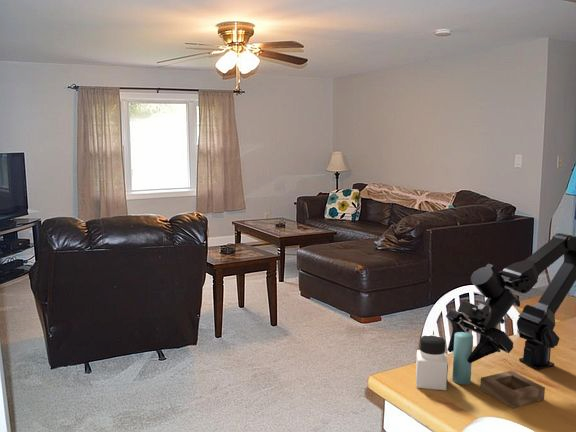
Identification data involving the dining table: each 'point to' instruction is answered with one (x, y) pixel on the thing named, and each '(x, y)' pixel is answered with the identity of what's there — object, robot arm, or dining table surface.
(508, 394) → the hole block
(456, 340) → the peg
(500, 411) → the dining table surface
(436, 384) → the medicine bottle
